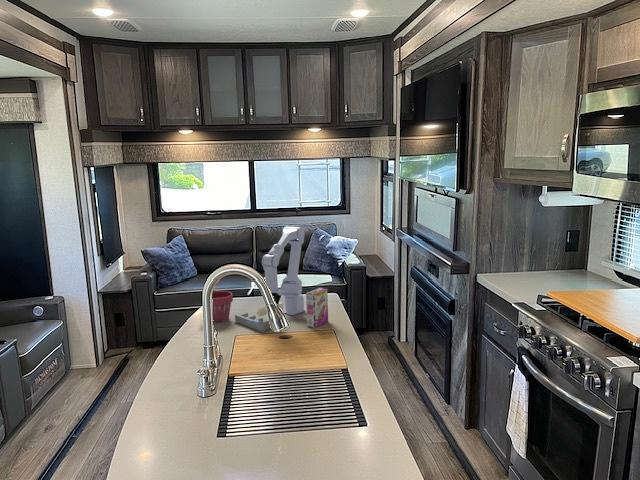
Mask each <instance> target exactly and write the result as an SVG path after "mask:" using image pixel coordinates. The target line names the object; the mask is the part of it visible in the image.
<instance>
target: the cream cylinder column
mask: <svg viewBox="0 0 640 480" xmlns="http://www.w3.org/2000/svg"><path fill="white" fill-rule="evenodd" d="M266 306H267V305H266ZM266 306H263V307H260V308H258V309H257V310H256V314H257V316H258V317H263V316H266V315H268V314H267V310H266ZM278 306H279V307H280V308H281V309H280V310H283V308H284V303H283V302H281V301H279V304H278Z"/></svg>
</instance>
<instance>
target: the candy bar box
mask: <svg viewBox="0 0 640 480" xmlns="http://www.w3.org/2000/svg"><path fill="white" fill-rule="evenodd" d="M328 291H329V290H328V288H323V287H318V288H315V289H313V290H310V291H307V292H305V301H306V304H305V305H306V306H305V307H306V327H308V328H311V329H312V328H313V329H316V328H318V327H320V326H322V325H324V324H326V323H328V322H329V303H328V302H329V297H328V296H329V295H328V294H329V293H328Z"/></svg>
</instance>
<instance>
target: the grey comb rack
mask: <svg viewBox="0 0 640 480" xmlns="http://www.w3.org/2000/svg"><path fill="white" fill-rule="evenodd" d="M256 317H257V316H256V315H255V314H252V315H249V312H244V313H240V314H239V313H238V314H235V315H234V320H235V321H234V322H235V323H238V324H240V325H242V326H246V327H248V328H251V329H254V330H256V331H258V332H262V333H264V332H266V331H267V330H270V329H271V328H270V324H269V320H266V321H264V318H263V317H259V318H256Z"/></svg>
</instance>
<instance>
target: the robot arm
mask: <svg viewBox="0 0 640 480" xmlns="http://www.w3.org/2000/svg"><path fill="white" fill-rule="evenodd" d="M281 231H282V234H281V237H280V239H279V241H278V242H277V243H275V244H273V246H272V247H271V249H270V250H269V251H268V253H267V254H264V255H263V256H262V258H261V265H262V267H263V268H262V269H263V271H264V278H265V280H266V282H267V284H268V286H269V288H270V290H271V292H272V295H273V296H274V299H275V301H276V303H277V304H279V302H280V300H281V298H282V296H283V297H284V308H285V309H284V311H285V312H284V313H283V314H285V313H286V315H289V316H295V315H297V314H301V313H303V312H305V311H306V310H305V304H304V303H305V301H304V300H305V299H304V296H303V295H302V292H303V286H302V285H303V281H302V280H301V279H300V278H299V277H298V275H299V266H300V260H301V254H302V253H301V252H302V245H303V244H305V243H304V242H305V234H306V233H305V229H304V228H303V227H302V226H287V225H286V226H284V227H283V230H281ZM288 244H290V246H291V247H290V256H289V261H288V269H287V275H286V276H285V277H284V278H283V279H282V281H281V284H280V288H279V282H278V268H277V267H278V266H279V263H280V259H281V256H282V255H283V253H284V252H285V249H284V248H285V247H286V246H287V245H288Z"/></svg>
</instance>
